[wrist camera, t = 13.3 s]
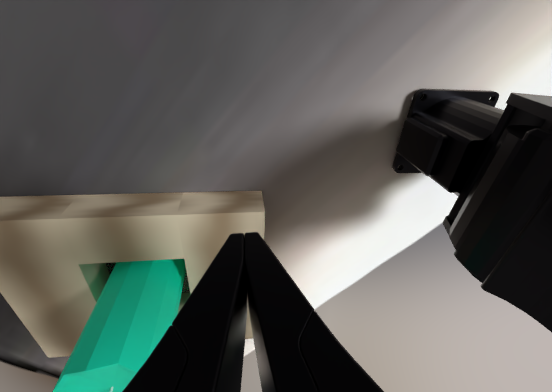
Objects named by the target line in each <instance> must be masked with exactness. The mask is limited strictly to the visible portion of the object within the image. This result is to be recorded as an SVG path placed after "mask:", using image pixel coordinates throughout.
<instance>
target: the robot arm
mask: <svg viewBox="0 0 552 392" xmlns="http://www.w3.org/2000/svg"><path fill="white" fill-rule="evenodd" d="M422 94H424V96H423V98H422V99H420V96H421V95H422ZM490 97H491V99H490V100H489V98H490ZM498 98H499V94H498V93H497V92H494V91H480V90H446V89H419V90H418V91H417V92H416V93H415V94H414V97H413V100H412V103H411V107H410V110H409V113H408V116H407V119H406V121H405V123H404V127H403V130H402V133H401V136H400V140H399V143H398V146H397V150H396V151H397V153H396V156H395V159H394V162H393V166H392V168H393V170H394V171H395V172H397V173H423V174H425V175H426V176H429V177H430V178H432V179H433V180H434V181H435V182H437V183H438V184H439V185H441V186H442V187H443V188H444V189H446V190H447V191H448V192H451V193H452V192H453V193H455V194H456V195H457V196H458V198H457V200H456V202H455V204H454V206H453V208H452V210H451V212H450V213H449V215H448V216H446V217H445V219H444V221H443V225H444V227H445V229H446V231H447V233H448V234H449V237H450V239H451V241H452V244H453V245H454V247H455V249H456V251H455V252H454V255H455V257H456V258H457V260H458V261H459V262H460V263H461V264H462V265H463V266H464V267H465V268H466V269H467V270H468V271H469V272H470V273H471V274H472V275H473V276H474V277H475V278H477V279H478V280H479V281H480V282H482V285H481V287H482V289H483V290H485V291H487V292H489V293H491V294H493V295H495V296H498V297H499V298H502V299H504V300H506V301H508V302H509V303H511V304H512V305H514V306H516V307H517V308H519V309H521V310H522V311H524V312H526V313H527V314H528V315H530V316H531V317H533V318H534V319H535V320H537V321H538V322H539V323H541V324H542V325H543V326H545V327H546V328H547V329H548V330H550V331H551V332H552V96H542V95H531V94H521V93H511V94H510V96H509V98H508V100H507V102H506V103H507V106H506V108H505V110H502V109H498V108H495V105H496V103H497V101H498ZM399 165H401V166H400V167H399V168H398V166H399ZM247 296H248V297H247ZM247 307H249V315H250V321H251V327H252V333H253V339H254V345H255V350H256V356H257V363H258V368H259V375H260V380H261V387H262V392H384V391H383V390H382V389H381V388H380V387H379V386H378V385H377V384H376V383H375V382H374V380H373V379H372V378H371V377H370V376H369V375H368V374H367V373H366V372H365V371H364V369H363V368H362V367H361V366H360V365H359V364H358V363H357V362H356V361H355V360H354V359H353V357H352V356H351V355H350V354H349V353H348V352H347V350H345V348H344V347H343V346H342V345H341V344H340V343H339V341H338V340H337V339H336V338H335V336H334V335H333V334H332V333H331V331H330V330H329V329H328V327H327V326H326V325H325V323H324V322H323V321H322V320H321V318H320V317H319V315H318V314H317V313H316V312H315V311H314V308H313V307H312V306H311V304H310V303H309V302H308V300H307V299H306V297H305V296H304V295H303V293H302V292H301V291H300V289H299V288H298V286H297V285H296V284H295V282H294V281H293V280H292V278H291V277H290V275H289V274H288V273H287V271H286V270H285V269H284V267H283V266H282V264H281V263H280V262H279V260H278V259H277V258H276V256H275V255H274V253H273V252H272V251H271V249H270V248H269V246H268V245H267V244H266V242H265V241H264V240H263V238H262V237H261V235H260V234H259V233H258V232H247V233H245V235H244V234H243V233H233V234H230V235H229V237H228V238H227V240H226V241H225V243H224V244H223V246H222V247H221V249H220V250H219V252H218V253H217V255H216V257H215V258H214V260H213V261H212V263H211V264H210V266H209V267H208V269H207V270H206V272H205V273H204V275H203V276H202V278H201V279H200V281H199V282H198V284H197V285H196V287H195V289H194V290H193V292H192V293H191V295H190V296H189V298H188V299H187V301H186V302H185V304H184V305H183V307H182V308H181V310H180V311H179V313H178V314H177V316H176V317H175V319H174V321H173V322H172V325H171V326H169V328H168V329H167V331H166V332H165V334H164V336H163V337H162V339H161V340H160V342H159V343H158V344H157V346H156V347H155V349H154V350H153V352H152V353H151V354H150V356H149V357H148V359H147V360H146V362H145V363H144V364H143V366H142V367H141V368H140V369H139V371H138V372H137V373H136V375H135V376H134V377H133V378H132V380H131V381H130V382H129V384H128V385H127V386H126V387H125V389H124V390H123V391H122V392H240V390H241V378H242V367H243V356H244V345H245V333H246V321H247Z"/></svg>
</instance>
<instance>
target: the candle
mask: <svg viewBox="0 0 552 392" xmlns="http://www.w3.org/2000/svg"><path fill="white" fill-rule="evenodd" d="M185 273H186V269H185V260H184V259H166V260H148V261H130V262H116V264H115V266H114V268H113V270H112V272H111V274H110V276H109V278H108V280H107V282H106V284H105V286H104V288H103V290H102V292H101V295H100V297H99V299H98V301H97V303H96V305H95V307H94V309H93V311H92V313H91V315H90V317H89V319H88V321H87V323H86V325H85V327H84V329H83V331H82V333H81V335H80V337H79V339H78V341H77V343H76V345H75V347H74V349H73V351H72V353H71V355H70V357H69V359H68V361H67V363H66V365H65V367H64V369H63V372H62V374H61V376H60V378H59V380H58V382H57V384H56V386H55V388H54V390H53V392H122V391H123V390H124V389H125V387H126V386H127V385H128V384H129V382H130V381H131V380H132V378H133V377H134V376H135V375H136V373H137V372H138V371H139V369H140V368H141V367H142V366H143V364H144V363H145V362H146V360H147V359H148V357H149V356H150V354H151V353H152V352H153V350H154V349H155V347H156V346H157V344H158V343H159V342H160V340H161V339H162V337H163V336H164V334H165V332H166V331H167V329H168V328H169V326H171V325H172V322H173V321H174V319H175V317H176V316H177V314H178V309H179V304H180V299H181V294H182V288H183V283H184V278H185Z"/></svg>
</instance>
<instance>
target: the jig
mask: <svg viewBox="0 0 552 392" xmlns="http://www.w3.org/2000/svg"><path fill="white" fill-rule="evenodd" d="M264 227H265V209H264V202H263V196H262V191H226V192H183V193H141V194H98V195H55V196H12V197H0V293H1V294H2V295H3V297H4V298H5V299H6V301H7V302H8V304H9V305H10V306H11V308H12V309H13V310H14V312H15V313H16V314H17V316H18V317H19V319H20V320H21V321H22V323H23V324H24V325H25V327H26V328H27V329H28V331H29V332H30V333H31V335H32V336H33V338H34V339H35V340H36V342H37V343H38V344H39V346H40V347H41V348H42V350H43V351H44V353H45V354H46V355H47V357H48V358H52V357H63V356H70V355H71V353H72V351H73V349H74V347H75V345H76V343H77V341H78V339H79V337H80V335H81V333H82V331H83V329H84V327H85V325H86V323H87V321H88V319H89V317H90V315H91V313H92V311H93V309H94V307H95V305H96V303H97V301H98V299H99V297H100V295H101V292H102V290H103V288H104V286H105V284H106V282H107V280H108V278H109V276H110V273H109V271H108V268H107V266H106V263H111V262H130V261H148V260H166V259H184V260H185V265H186V271H187V277H188V282H189V288H190V292H182V294H181V299H180V304H179V309H178V313H179V311H180V310H181V308H182V307H183V305H184V304H185V302H186V301H187V299H188V298H189V296H190V295H191V293H192V292H193V290H194V289H195V287H196V285H197V284H198V282H199V281H200V279H201V278H202V276H203V275H204V273H205V272H206V270H207V269H208V267H209V266H210V264H211V263H212V261H213V260H214V258H215V257H216V255H217V253H218V252H219V250H220V249H221V247H222V246H223V244H224V243H225V241H226V240H227V238H228V237H229V235H230V234H233V233H243V234H244V235H245V233H247V232H258V233H259V234H260V235H261V237H262V238H263V240H264ZM247 297H248V296H247ZM251 338H253V333H252V327H251V321H250V315H249V307H247V321H246V333H245V339H251Z"/></svg>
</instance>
